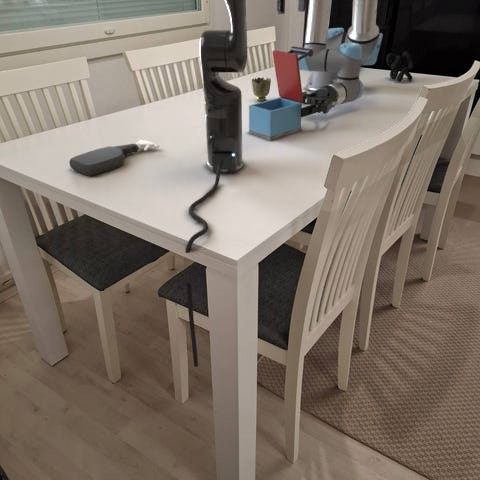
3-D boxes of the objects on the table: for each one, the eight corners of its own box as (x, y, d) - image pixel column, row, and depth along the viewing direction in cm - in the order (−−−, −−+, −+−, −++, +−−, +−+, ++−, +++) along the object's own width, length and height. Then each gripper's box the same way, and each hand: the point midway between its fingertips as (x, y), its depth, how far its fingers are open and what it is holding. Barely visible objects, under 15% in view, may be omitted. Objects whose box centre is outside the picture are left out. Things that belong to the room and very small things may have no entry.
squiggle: (400, 92, 202) (376, 71, 205) (417, 76, 202) (392, 56, 205) (405, 81, 191) (380, 59, 194) (423, 64, 191) (397, 42, 194)
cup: (248, 101, 174) (248, 80, 169) (256, 97, 179) (256, 76, 175) (265, 103, 171) (266, 82, 166) (273, 99, 176) (274, 78, 172)
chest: (270, 140, 136) (270, 111, 131) (248, 133, 142) (248, 105, 138) (300, 130, 144) (302, 103, 139) (279, 123, 150) (280, 97, 145)
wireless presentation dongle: (67, 168, 120) (139, 144, 136) (91, 178, 114) (163, 151, 130) (65, 157, 118) (137, 134, 134) (89, 167, 112) (162, 142, 128)
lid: (295, 55, 129) (315, 44, 133) (272, 51, 135) (291, 40, 139) (301, 102, 138) (319, 90, 142) (279, 96, 145) (297, 85, 148)
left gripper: (301, -55, 126) (298, 10, 134) (265, -55, 118) (264, 13, 127) (322, -56, 121) (317, 11, 130) (285, -56, 113) (283, 15, 122)
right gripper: (357, 114, 148) (314, 128, 136) (301, 100, 164) (259, 112, 152) (360, 91, 144) (316, 103, 132) (303, 79, 160) (259, 89, 148)
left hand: (291, 12), depth 128 cm, fingers open, 8 cm apart
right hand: (285, 108), depth 142 cm, fingers open, 13 cm apart
